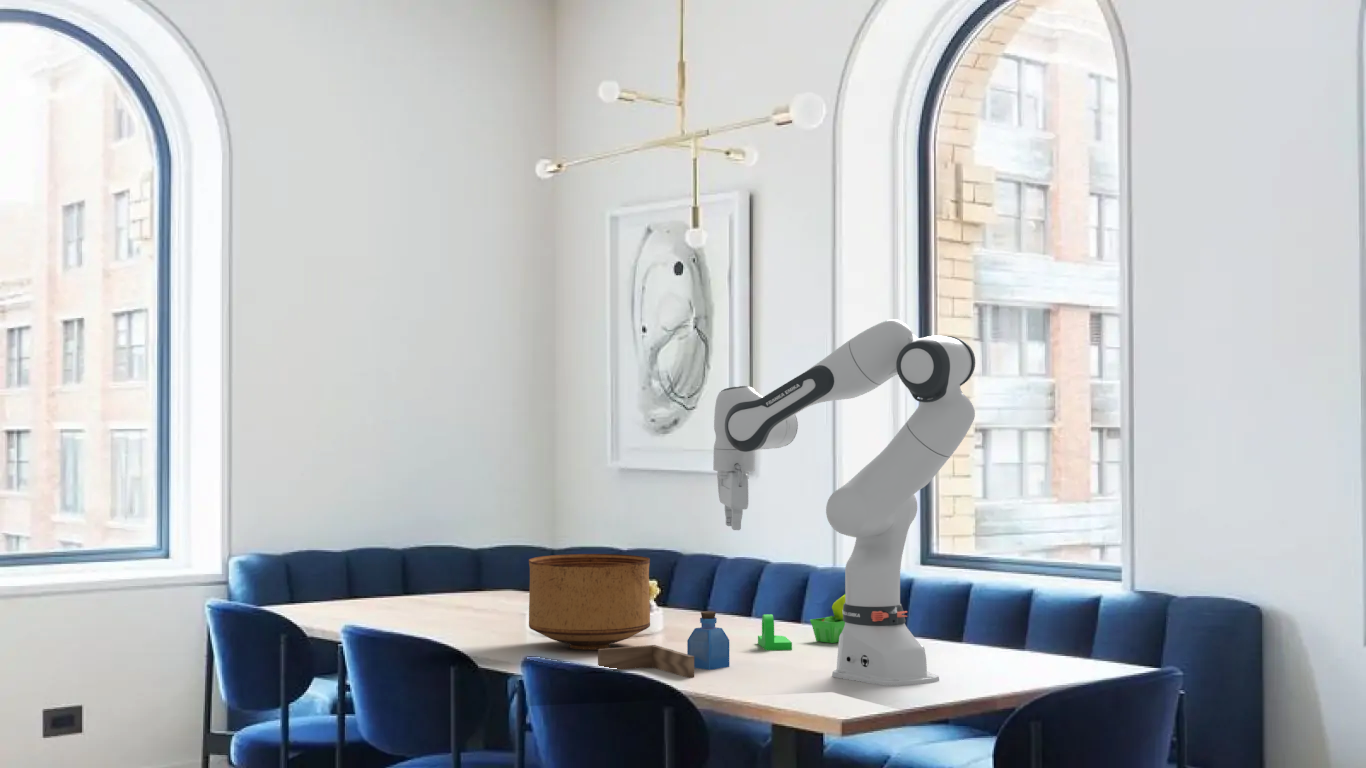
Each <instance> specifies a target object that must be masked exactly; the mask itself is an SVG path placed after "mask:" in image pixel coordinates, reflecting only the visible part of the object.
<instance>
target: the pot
mask: <svg viewBox="0 0 1366 768" xmlns="http://www.w3.org/2000/svg"><path fill="white" fill-rule="evenodd" d="M650 562H651V559H650V557H647V556H641V555H631V554H630V555H629V554H618V553H617V554H615V553H611V554H609V553H575V554H574V553H570V554H553V555H542V556H537V557H532V558H529V559H528V565H529V594H528V595H529V597H528V599H529V600H528V601H529V602H528V603H529V604H528V627H529V629H531V630H532V631H535V633H538V634H540V635H542V636H544V637H546V638H549V639H550V640H553V641H556V642H560V643H563V644H566V645H569V647H568V648H570V649H575V650H584V651H585V650H598V649H606V648H611V645H610V644H615V643H618V642H622V641H624V640H627V639H630V638H632V637H633V636H636V635H637V634H639V633H641V632H643V631H645V630H647V629H648V628H650V627H651V603H650V601H651V600H650V564H651V563H650Z"/></svg>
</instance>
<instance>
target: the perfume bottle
mask: <svg viewBox="0 0 1366 768" xmlns="http://www.w3.org/2000/svg"><path fill="white" fill-rule="evenodd" d="M716 613H717V612H716V611H709V610H708V611H705V610H704V611H701V612H700V614H701V617H700V618H699V624H701V627H695V628H694V629H693V630H692V632H691V634H690V636H689V637H688V638H687V640H686V641H687V643H686V645H687V646H686V647H687V649H686V651H687V653H686V654H688V655H691V656H694V669H698V670H699V669H701V670H709V671H710V670H718V669H724V668H729V667H730V639H729V637H728V635H727V634H726V632H725V631H724V629H723V628H722V627H716V624H717V617H716Z"/></svg>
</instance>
